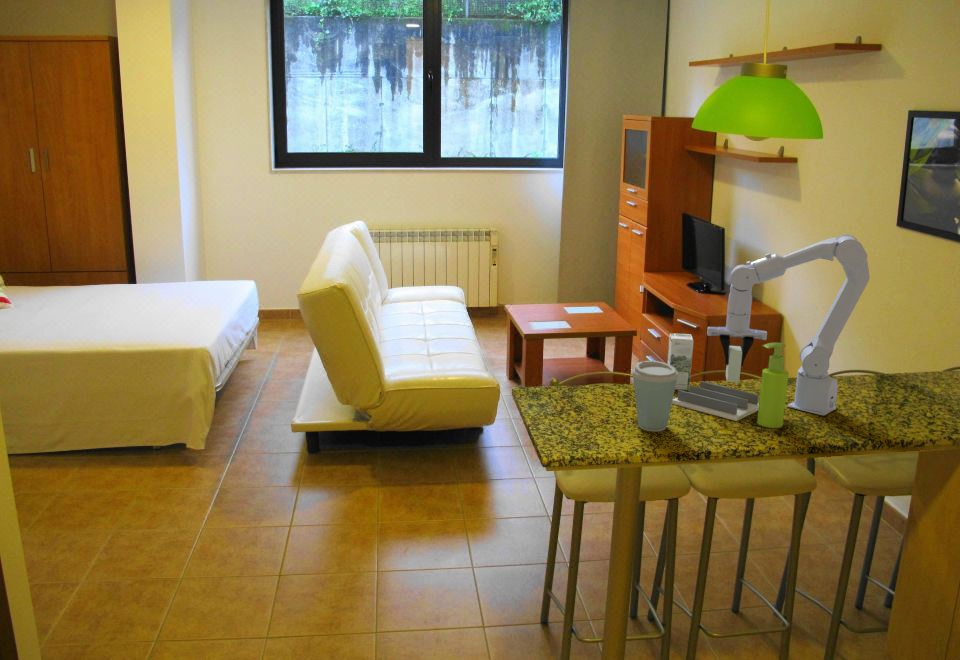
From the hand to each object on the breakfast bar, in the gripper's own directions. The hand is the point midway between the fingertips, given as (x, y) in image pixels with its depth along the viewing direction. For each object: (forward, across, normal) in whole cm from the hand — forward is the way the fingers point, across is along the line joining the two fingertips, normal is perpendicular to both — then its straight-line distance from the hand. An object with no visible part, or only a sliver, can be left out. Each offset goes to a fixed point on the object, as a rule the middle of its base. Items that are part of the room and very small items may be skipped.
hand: (733, 364), depth 230 cm
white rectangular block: (+4, 0, 0) cm, 4 cm away
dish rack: (+10, -4, -6) cm, 12 cm away
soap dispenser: (+10, +8, -17) cm, 21 cm away
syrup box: (+10, -13, +7) cm, 18 cm away
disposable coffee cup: (+10, -20, -27) cm, 35 cm away
